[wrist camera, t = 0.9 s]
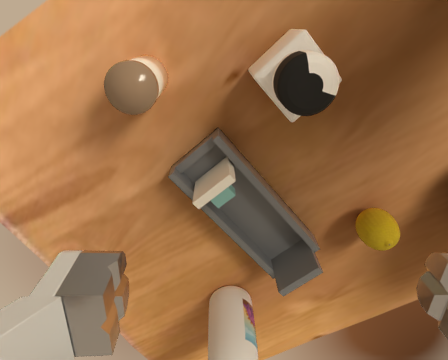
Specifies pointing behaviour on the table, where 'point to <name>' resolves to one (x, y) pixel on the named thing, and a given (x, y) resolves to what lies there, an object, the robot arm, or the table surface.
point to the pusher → (215, 185)
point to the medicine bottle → (297, 75)
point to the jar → (135, 84)
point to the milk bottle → (231, 325)
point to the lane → (253, 214)
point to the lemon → (377, 229)
